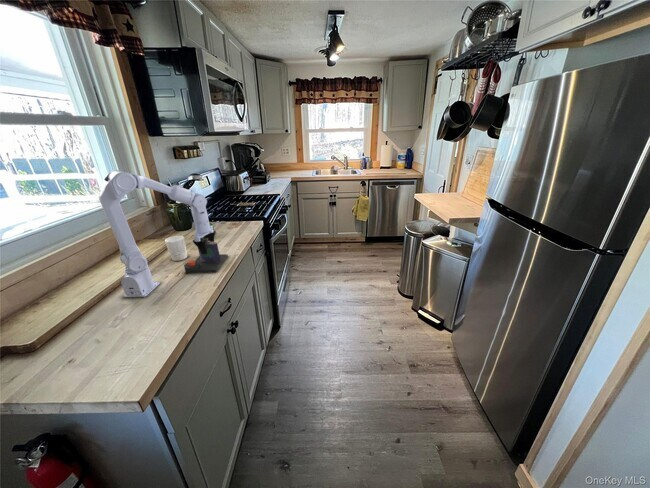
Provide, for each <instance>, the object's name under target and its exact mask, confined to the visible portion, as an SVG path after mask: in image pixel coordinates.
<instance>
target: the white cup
mask: <svg viewBox="0 0 650 488" xmlns="http://www.w3.org/2000/svg"><path fill="white" fill-rule="evenodd" d="M164 243H165V246H166V249H167V251H168V254H169V256H170V258H171V260H172V261H175V262H179V261H183V260H185V259H187V258H188V252H187V246H186V241H185V237H184V236H183V235H174V236H173V235H172V236H169V237H167V238H165V239H164Z"/></svg>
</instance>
